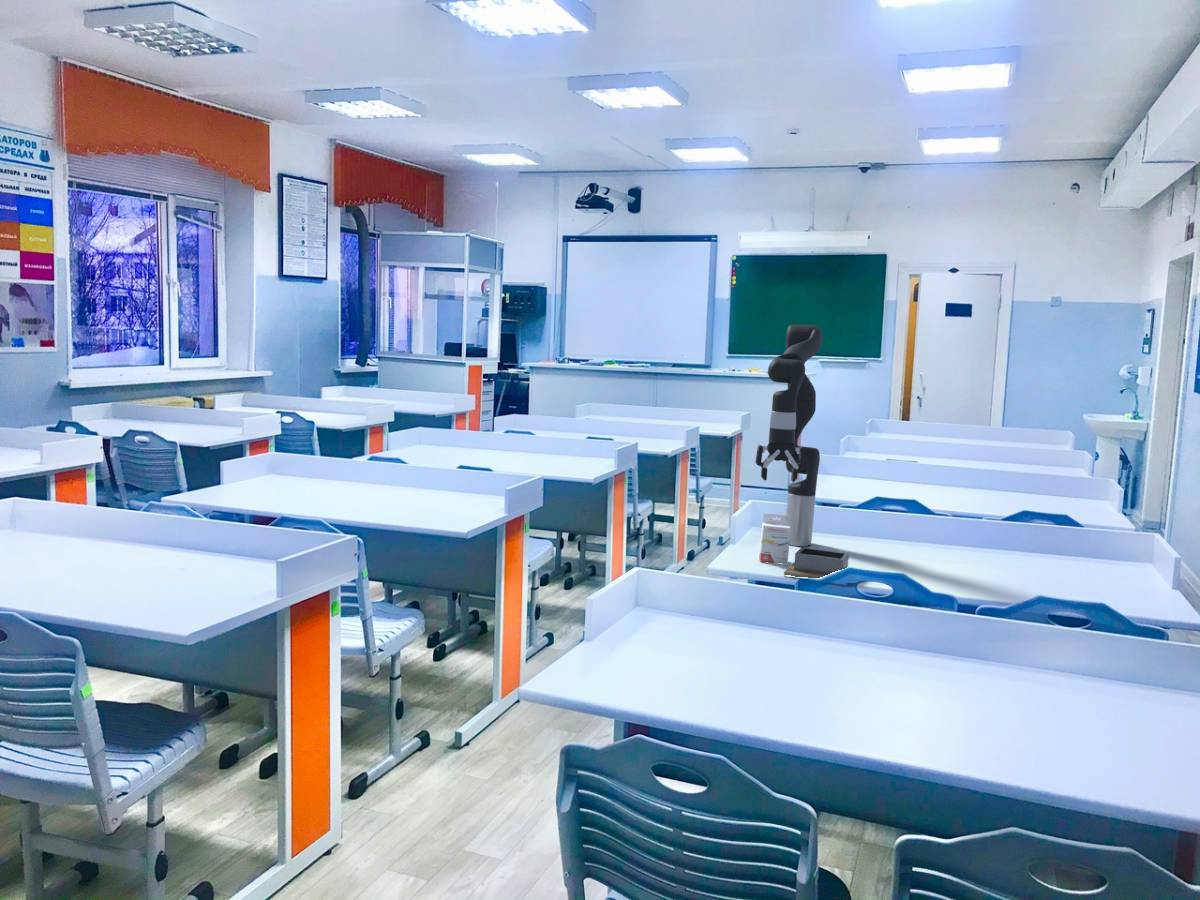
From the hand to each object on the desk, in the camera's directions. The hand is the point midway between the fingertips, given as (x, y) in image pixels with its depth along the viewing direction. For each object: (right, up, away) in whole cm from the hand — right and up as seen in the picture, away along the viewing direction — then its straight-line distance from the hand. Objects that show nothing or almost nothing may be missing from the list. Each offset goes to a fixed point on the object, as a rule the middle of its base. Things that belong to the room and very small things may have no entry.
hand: (778, 480), depth 290 cm
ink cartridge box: (0, -26, +12) cm, 29 cm away
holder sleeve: (+12, -26, -1) cm, 29 cm away
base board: (+12, -28, -1) cm, 31 cm away
